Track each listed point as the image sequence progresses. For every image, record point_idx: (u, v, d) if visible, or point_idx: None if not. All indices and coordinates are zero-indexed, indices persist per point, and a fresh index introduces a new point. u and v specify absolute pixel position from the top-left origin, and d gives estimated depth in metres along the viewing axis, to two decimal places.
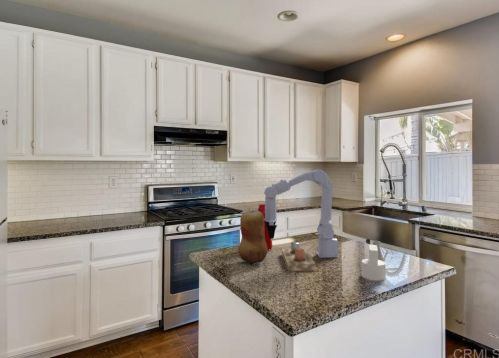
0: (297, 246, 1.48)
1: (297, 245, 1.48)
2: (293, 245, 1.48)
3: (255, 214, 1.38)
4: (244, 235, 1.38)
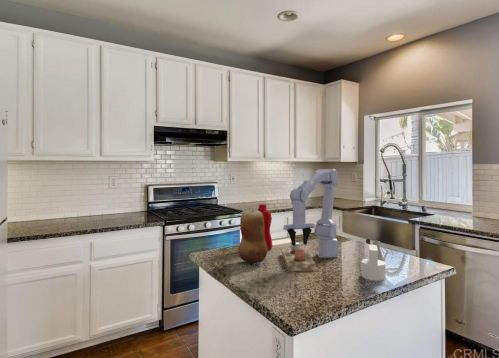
0: (297, 246, 1.48)
1: (297, 245, 1.48)
2: None
3: (255, 214, 1.38)
4: (244, 235, 1.38)
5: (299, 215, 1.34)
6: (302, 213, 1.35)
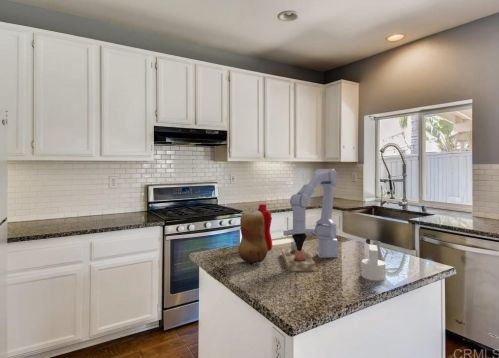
0: None
1: None
2: (293, 245, 1.48)
3: (255, 214, 1.38)
4: (244, 235, 1.38)
5: (299, 221, 1.34)
6: (302, 219, 1.35)
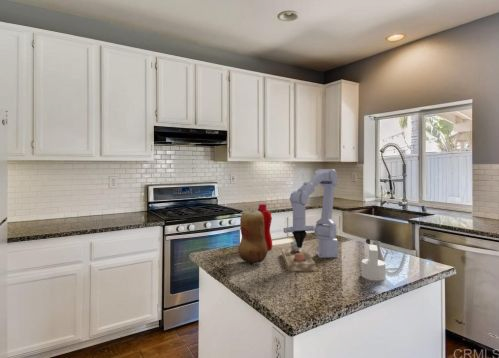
0: None
1: None
2: (293, 245, 1.48)
3: (255, 214, 1.38)
4: (244, 235, 1.38)
5: (299, 218, 1.34)
6: (302, 216, 1.35)
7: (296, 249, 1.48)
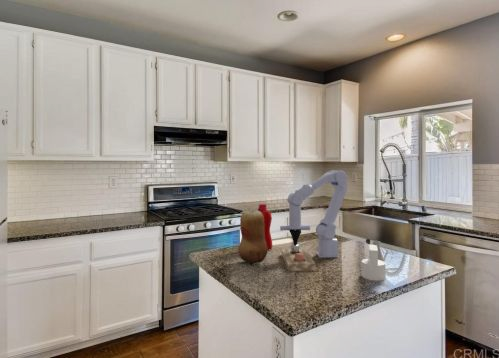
0: (297, 248, 1.48)
1: (297, 247, 1.48)
2: (293, 247, 1.48)
3: (255, 214, 1.38)
4: (244, 235, 1.38)
5: (292, 217, 1.47)
6: (295, 216, 1.46)
7: (296, 251, 1.48)
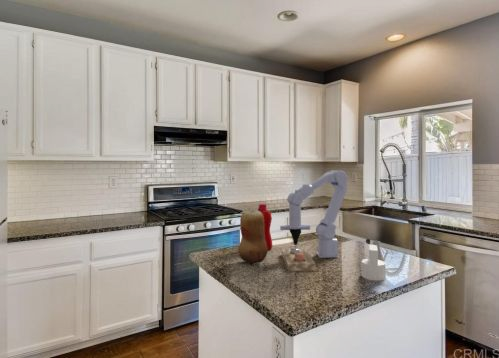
0: (297, 252, 1.48)
1: (297, 251, 1.48)
2: (293, 251, 1.48)
3: (255, 214, 1.38)
4: (244, 235, 1.38)
5: (292, 217, 1.47)
6: (295, 215, 1.46)
7: None
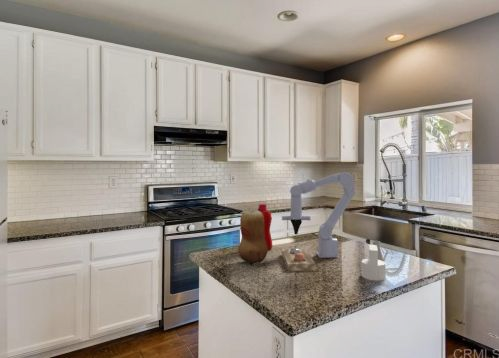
0: (297, 252, 1.48)
1: (297, 251, 1.48)
2: (293, 251, 1.48)
3: (255, 214, 1.38)
4: (244, 235, 1.38)
5: (291, 207, 1.56)
6: (293, 206, 1.55)
7: None
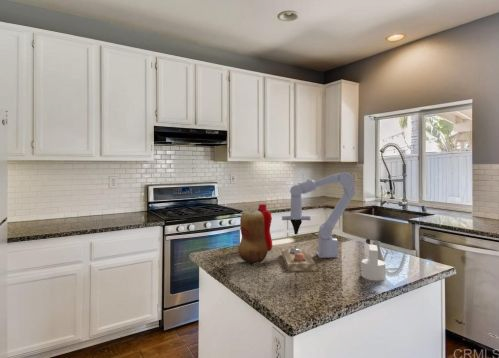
0: (297, 252, 1.48)
1: (297, 251, 1.48)
2: (293, 251, 1.48)
3: (255, 214, 1.38)
4: (244, 235, 1.38)
5: (291, 207, 1.56)
6: (293, 206, 1.55)
7: None
